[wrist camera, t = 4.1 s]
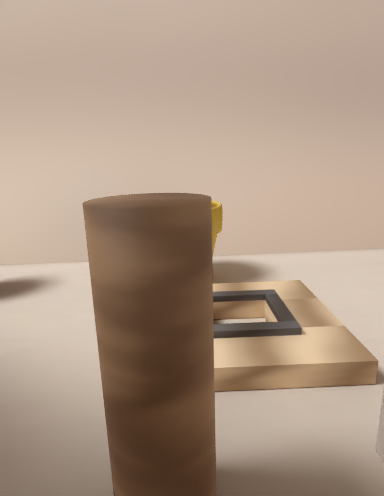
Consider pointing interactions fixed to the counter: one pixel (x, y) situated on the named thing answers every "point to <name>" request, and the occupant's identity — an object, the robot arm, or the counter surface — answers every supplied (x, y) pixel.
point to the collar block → (283, 340)
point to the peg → (155, 339)
